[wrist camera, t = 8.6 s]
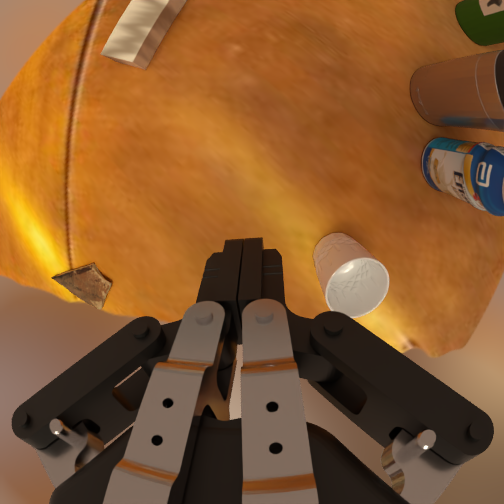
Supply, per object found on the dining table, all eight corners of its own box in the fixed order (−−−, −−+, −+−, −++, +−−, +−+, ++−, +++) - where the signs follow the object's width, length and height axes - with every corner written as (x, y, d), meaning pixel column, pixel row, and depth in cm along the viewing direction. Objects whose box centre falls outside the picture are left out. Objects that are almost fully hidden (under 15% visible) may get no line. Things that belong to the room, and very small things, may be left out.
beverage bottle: (466, 160, 34) (561, 190, 15) (442, 201, 36) (535, 251, 18) (435, 124, 32) (540, 137, 13) (409, 168, 35) (513, 205, 16)
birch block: (146, 70, 29) (210, -30, 23) (132, 62, 25) (205, -47, 19) (117, 61, 29) (179, -36, 22) (100, 54, 24) (172, -52, 18)
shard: (55, 274, 41) (50, 278, 39) (64, 239, 39) (59, 243, 37) (103, 307, 43) (99, 313, 42) (116, 275, 41) (112, 280, 39)
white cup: (320, 287, 42) (338, 328, 32) (299, 244, 39) (314, 278, 30) (367, 264, 40) (395, 299, 31) (350, 218, 38) (379, 245, 28)
